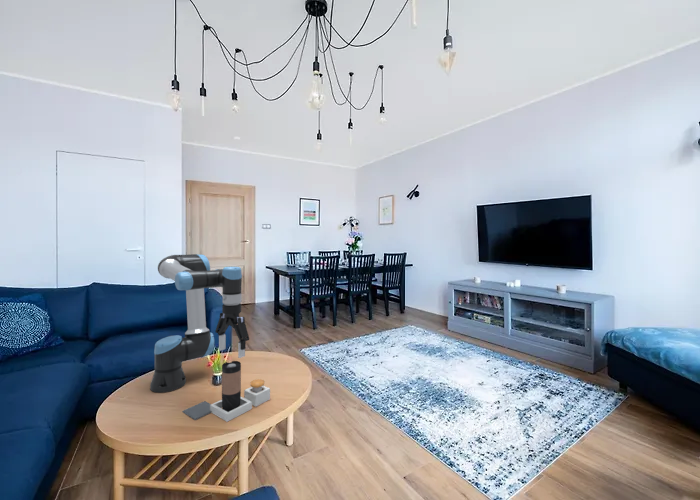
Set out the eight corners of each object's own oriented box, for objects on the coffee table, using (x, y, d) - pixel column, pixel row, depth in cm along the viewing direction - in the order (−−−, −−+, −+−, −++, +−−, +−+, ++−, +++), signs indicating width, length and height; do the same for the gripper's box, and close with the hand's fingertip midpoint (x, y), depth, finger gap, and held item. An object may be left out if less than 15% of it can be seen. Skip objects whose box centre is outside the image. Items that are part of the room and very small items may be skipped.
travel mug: (234, 416, 128) (234, 368, 128) (217, 414, 130) (217, 366, 129) (244, 406, 136) (244, 361, 135) (228, 404, 137) (228, 359, 137)
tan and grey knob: (247, 399, 141) (247, 382, 141) (258, 393, 146) (258, 378, 145) (256, 403, 137) (256, 386, 137) (266, 397, 142) (267, 381, 142)
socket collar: (210, 411, 131) (210, 404, 131) (234, 400, 141) (234, 393, 141) (227, 421, 125) (227, 414, 124) (251, 408, 134) (251, 401, 134)
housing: (244, 401, 141) (244, 390, 140) (258, 393, 147) (258, 383, 147) (255, 406, 136) (255, 395, 136) (269, 399, 143) (270, 388, 142)
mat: (182, 412, 131) (182, 410, 131) (205, 402, 139) (205, 400, 139) (195, 420, 125) (195, 419, 125) (218, 409, 133) (218, 408, 133)
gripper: (207, 301, 135) (206, 349, 136) (242, 309, 121) (242, 363, 122) (222, 298, 141) (222, 344, 142) (258, 306, 127) (258, 357, 128)
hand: (231, 353), depth 132 cm, fingers open, 13 cm apart
